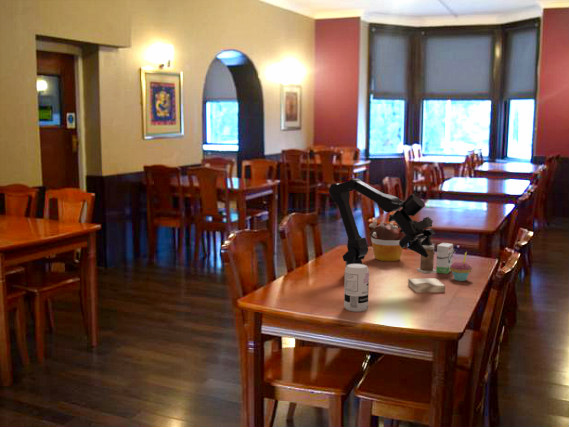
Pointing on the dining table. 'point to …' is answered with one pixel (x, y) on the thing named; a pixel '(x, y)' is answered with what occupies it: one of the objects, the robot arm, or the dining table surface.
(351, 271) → the supplement can
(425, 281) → the birch block
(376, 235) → the bucket of meat
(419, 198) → the robot arm
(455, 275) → the cupcake
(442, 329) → the dining table surface
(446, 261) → the ink box
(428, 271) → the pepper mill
